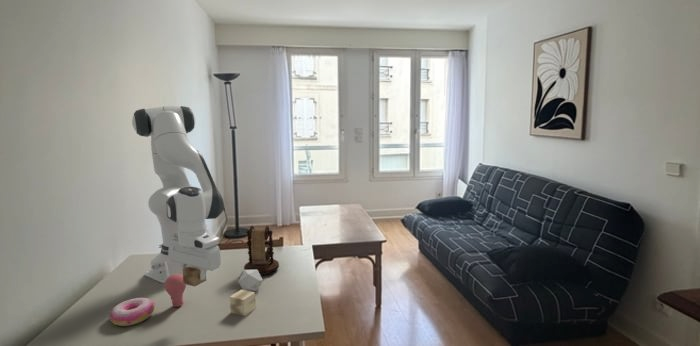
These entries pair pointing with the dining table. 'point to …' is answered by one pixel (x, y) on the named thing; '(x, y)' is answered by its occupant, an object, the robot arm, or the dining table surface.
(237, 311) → the oak cube
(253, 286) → the die
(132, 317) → the donut
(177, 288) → the light bulb
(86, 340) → the dining table surface
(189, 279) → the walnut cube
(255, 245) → the scroll
